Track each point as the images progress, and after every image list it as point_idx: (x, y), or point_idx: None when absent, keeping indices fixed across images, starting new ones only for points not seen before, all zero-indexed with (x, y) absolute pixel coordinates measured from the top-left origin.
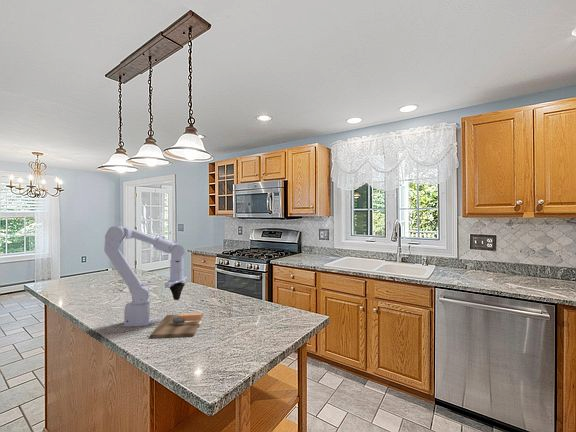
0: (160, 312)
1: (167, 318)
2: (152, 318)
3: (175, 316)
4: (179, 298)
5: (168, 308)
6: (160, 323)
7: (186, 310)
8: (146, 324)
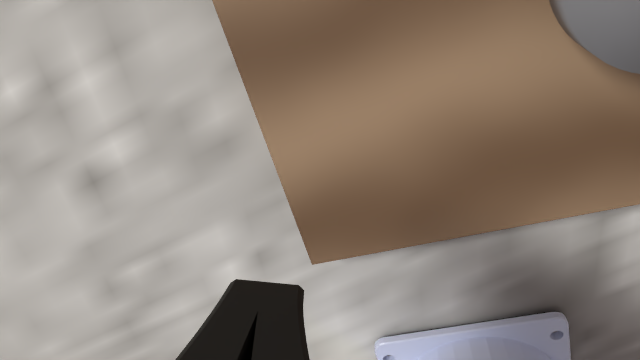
0: (179, 354)
1: (433, 202)
2: (389, 344)
3: (347, 142)
4: (230, 289)
5: (50, 340)
6: (618, 200)
7: (7, 144)
8: (562, 322)
